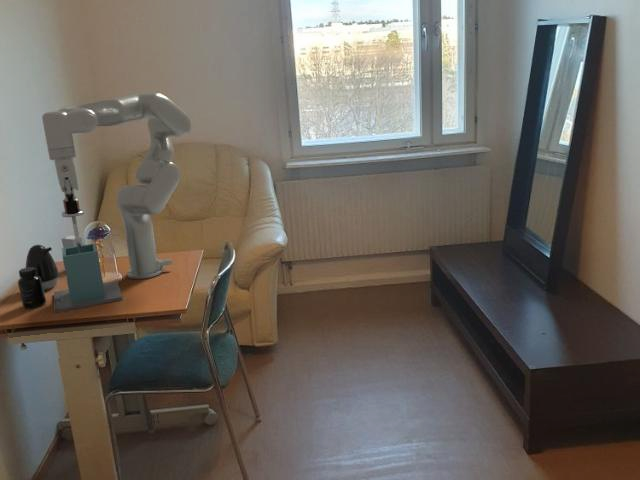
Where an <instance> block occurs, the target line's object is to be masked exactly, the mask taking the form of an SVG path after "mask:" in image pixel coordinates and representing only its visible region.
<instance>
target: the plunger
mask: <svg viewBox="0 0 640 480" xmlns="http://www.w3.org/2000/svg"><path fill="white" fill-rule="evenodd" d="M75 200H76V201H77V207H78V213H76V214H69V215H68V214H67V209H66V204H65V202H66V199H65V198H63V200H62V203H63V204H62V205H63V207H64V211H63V212H61V216H62V217H63V218H71V221H72V222H71V223H72V227H73V228H72V229H73V233H74V236H75V239H76V244H77V250H78V254H79V253H82V249H81V244H80V238H79V237H80V235H79V234H80V232H79V227H78V223H77V217H79V216H82V215H83V214H85V210H84V209H81V208H80V201H79V198H78V197H76V198H75ZM73 201H74V200H73Z"/></svg>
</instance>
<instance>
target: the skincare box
mask: <svg viewBox="0 0 640 480" xmlns="http://www.w3.org/2000/svg"><path fill="white" fill-rule="evenodd" d="M79 238H80V244H81V245H84V244H83V239H82V236H79ZM61 242H62V247H63V248H69V247H75V246H77V244H76V239H75V235H68V236H65V237H62V238H61Z"/></svg>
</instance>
